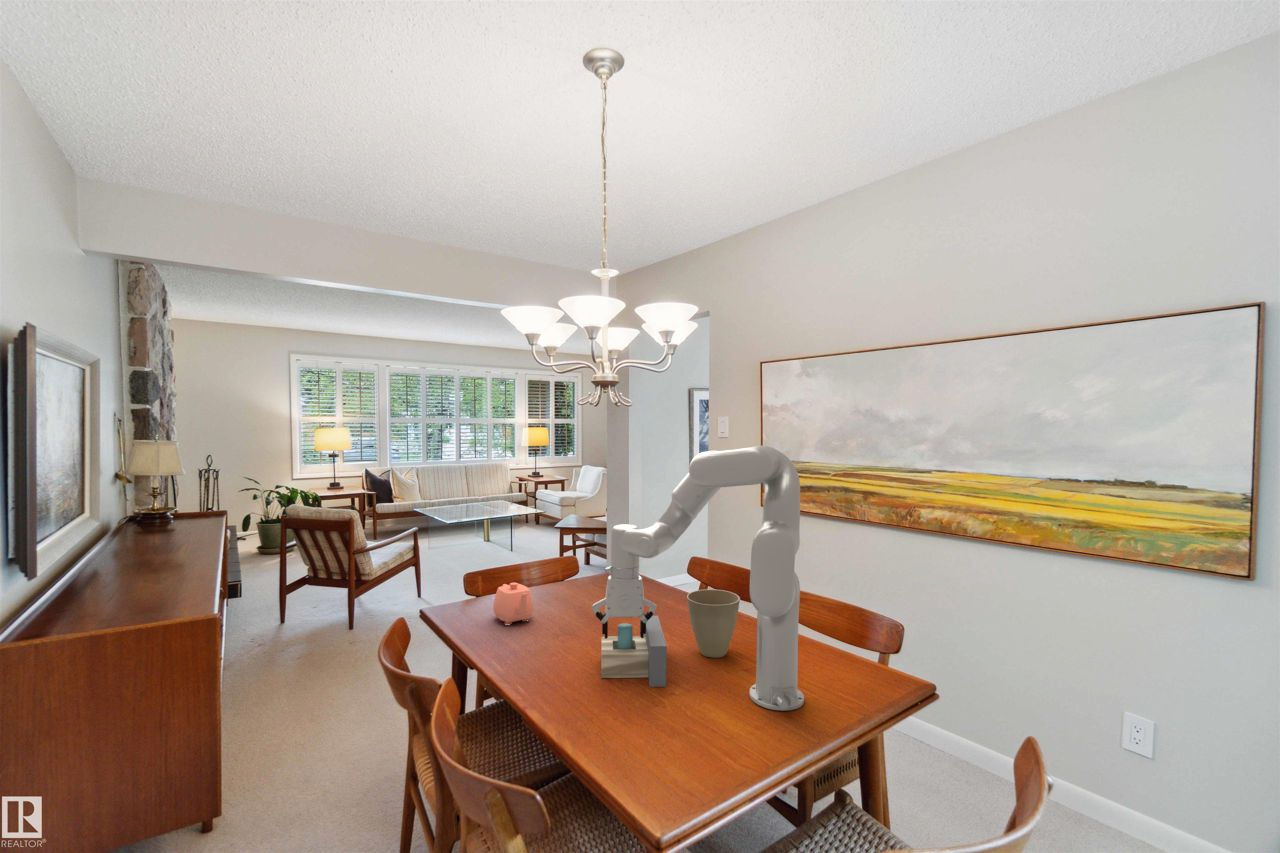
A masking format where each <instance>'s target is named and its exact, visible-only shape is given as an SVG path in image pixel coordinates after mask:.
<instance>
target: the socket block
mask: <svg viewBox="0 0 1280 853" xmlns="http://www.w3.org/2000/svg"><path fill="white" fill-rule="evenodd" d="M617 645H618V635H616V636H615V635H614V636H613V635H611V636H608V638H607V639H605V636H601V645H600V646H601V651H600V652H601V656H600V657H601V658H600V661H601V663H600V667H601V668H600V670H601V671H600V672H601V673H600V674H601V675H600V678H601V679H621V678H622V679H626V678H627V679H628V678H648V660H649V653H648V648H647V643H646V638H645V636H644V638H641V636H640V635H633V649H618V650H617Z"/></svg>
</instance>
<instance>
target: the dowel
mask: <svg viewBox="0 0 1280 853" xmlns="http://www.w3.org/2000/svg"><path fill="white" fill-rule="evenodd" d="M633 627H634V626H633V624H630V623H626V622H625V623H624V622H623V623H620V624H618V625H617V636H618V645H617V650H618V649H633V636H634V632H633V630H634V628H633Z"/></svg>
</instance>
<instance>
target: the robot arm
mask: <svg viewBox="0 0 1280 853" xmlns="http://www.w3.org/2000/svg"><path fill="white" fill-rule="evenodd" d="M795 466H796V465H794V463H793V462H792V460H791V459H790V458H789V457H788V456H787V455H786V454H785V453H783V452H781V451H780V450H778V449H776V448H774V447H771V446H768V445H757V446H751V447H744V448H743V447H742V448H736V449H726V450H709V451H702V452H700V453H697V454H696V455H695V456H694V457H693V458H692V460H691V461H690V463H689V467H688V473H687V474H685V476H684V477H683V478H682V480H681V481H680V482H679V483H678V485H677V486H676V487H674V489H673V490H672V492H671V502H670V503H669V506H668V507H667V509H666V510H665V511H664V512H663V514H662V515H661V516H660V517H659V518H658V520H656V521H655V523H654V524H652V525H650V526H648V527H645V528H640V529H639V527H638V526H637V525H635V524H628V523H621V524H615V525H614V526H613V527H611V528H612V529H611V536H610V544H611V545H610V566H608V567H605V573H607V574H609V575H608V577H607V581H606V588H605V597H604V598H602V599H600V600H599V601H598V600H597V601H596V602H595V603H593V604H592V605H591V609H592V611H593V613H594V614H595V617H596V618H597V619H598V620H599V621H600V622H601V624H602V626H601V628H602V629H601V630H602V631H601V632H602V633H601V634H602V635H604V637H605V639H607V638H608V634H609V633H608V631H609V627H608V626H609V621H608V620H609V619H610V618H639V619H640V620H639V621H640V622H639V624H640V625H639V636H641V638H644V634H646V623H647V621H648V620H649V619H650V618H651V617H652V616H654V614H655V612H656V610H657V608H658V605H657V604H656V603H655V602H653V601H652V600H651V601H650V600H649V599H648V598H645V596H644V594H645V593H644V582H643V577H642V576H641V575H640V558H643V559H654V558H655V557H657V556H659V555H661V554H662V553H664V552H666V551H668V550H669V549H670V548H671V547H673V546H674V544H675V543H676V542H677V541H678V540H679V538H680V537H681V536H682V535H683V534H684V533H685V532H686V531H687V529H688V528H689V527H690V525H691V524H692V522H693V521H694V520H695V519H696V518H697V516H698V515H699V514H700V512H701V511H702V509H704V507H705V506H706V505H707V504H708V503H709V502H710V500H712V498H713V497H714V496H715V495H716V494H717V492H719V491H720V489H721V488H730V487H742V486H753V485H756V486H757V485H759V484H763V488H764V492H763V493H764V494H763V503H762V510H763V511H762V520H761V527H760V528H759V530H758V531H757V532H756V533H755V535H754V538H753V540H752V543H751V544H752V545H751V550H750V551H751V553H750V554H751V555H750V572H749V598H750V601H751V604H752V606H753V607H754V608H755V610H756V611H757V616H756V656H755V658H756V660H755V661H756V662H755V663H756V665H755V666H756V669H755V670H756V671H755V674H756V676H755V684H753V685H751V686H750V688H749V691H748V693H749V697H750V699H751V701H752V702H753V703H755V704H756V705H758V706H760V707H763V708H765V709H768V710H773V711H781V712H784V711H785V712H787V711H794V710H797V709H800V708H801V707H802V706H803V705H804V703H805V695H804V693H803V692H802V691H801V690H800V689H798V667H799V666H798V660H799V659H798V657H799V656H798V655H799V654H798V653H799V652H798V650H799V648H798V647H799V646H798V645H799V618H800V617H799V616H800V615H799V614H800V612H799V611H800V598H801V585H800V580H799V577H798V574H797V573H796V571H795V565H796V564H795V560H796V555H797V553H798V551H799V549H800V545H801V543H800V542H801V540H800V539H801V538H800V529H801V528H800V525H801V524H800V523H801V521H800V519H801V482H800V478H799V477H800V476H799V473H798V471H797V469H796V467H795ZM603 606H604V608H605V609H604V611H605V612H604V613H602V612H601V611H600V610H599V608H601V607H603ZM645 606H647V607H649V610H648V611H647V612H646V613H644V611H645Z"/></svg>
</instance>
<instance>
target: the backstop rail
mask: <svg viewBox="0 0 1280 853" xmlns="http://www.w3.org/2000/svg"><path fill="white" fill-rule="evenodd" d="M644 636H645V638H646V643H647V648H648V653H649V660H648V677H647V678H648V684H649V687H650V688H652V687H653V688H654V687H655V688H656V687H657V688H658V687H659V688H660V687H662V688H663V687H665V688H666V687H667V659H668V658H667V656H668V654H667V653H668V652H667V649H668V648H667V643H666V639H665V636H664V632H663V629H662V626H661V621H660V618H659V615H653V616H652V617H651V618H650V619H649V620H648V621H647V623H646V634H644Z"/></svg>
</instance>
